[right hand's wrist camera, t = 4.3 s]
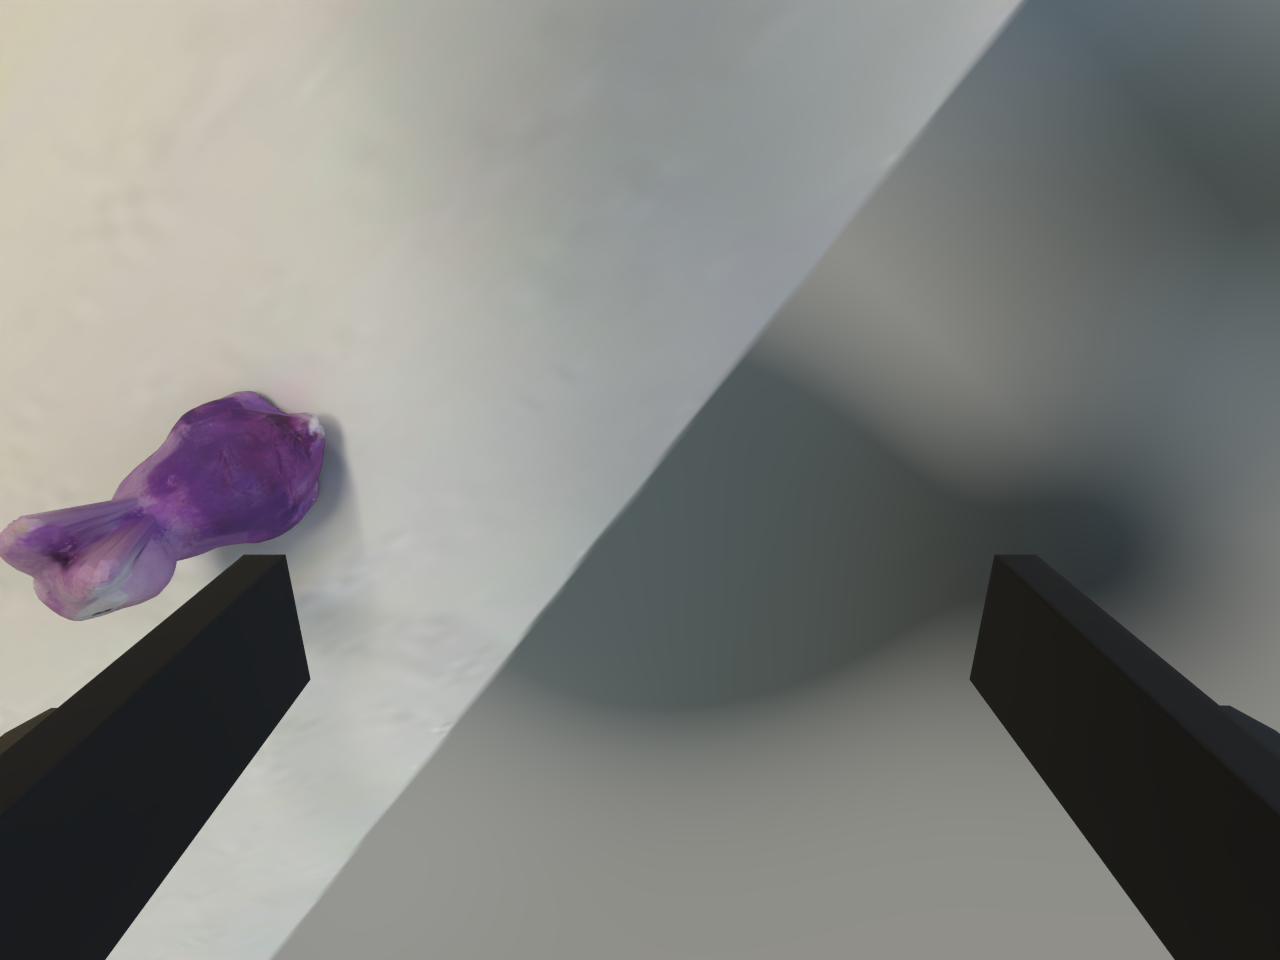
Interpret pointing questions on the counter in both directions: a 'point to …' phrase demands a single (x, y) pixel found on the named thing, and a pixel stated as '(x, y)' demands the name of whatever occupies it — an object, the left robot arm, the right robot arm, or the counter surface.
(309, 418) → the figurine
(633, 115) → the counter surface
